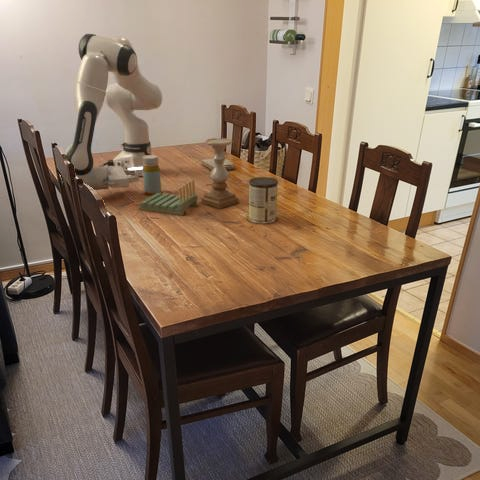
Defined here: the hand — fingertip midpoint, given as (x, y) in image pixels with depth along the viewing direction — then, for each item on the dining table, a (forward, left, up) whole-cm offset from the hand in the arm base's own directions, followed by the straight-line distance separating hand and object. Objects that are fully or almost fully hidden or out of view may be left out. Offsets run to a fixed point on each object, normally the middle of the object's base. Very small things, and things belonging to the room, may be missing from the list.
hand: (137, 175), depth 198 cm
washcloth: (+13, +56, -8) cm, 58 cm away
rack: (+20, -10, -8) cm, 24 cm away
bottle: (+5, +4, -8) cm, 10 cm away
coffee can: (+58, -9, -8) cm, 59 cm away
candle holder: (+36, +3, -8) cm, 37 cm away
